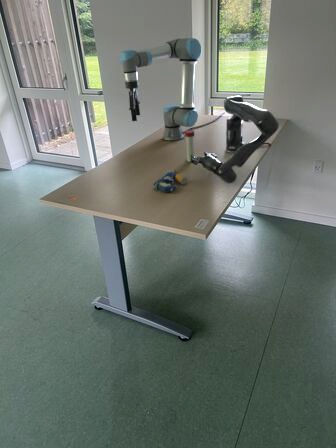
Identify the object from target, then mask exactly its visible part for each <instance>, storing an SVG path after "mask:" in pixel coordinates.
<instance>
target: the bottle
mask: <svg viewBox="0 0 336 448" xmlns="http://www.w3.org/2000/svg"><path fill="white" fill-rule="evenodd" d="M194 137H195V135H194V136H192V137H186V136H185V147H186V161H187V162H188V163H189V162H190V163H191V155H193V156H195V139H194Z"/></svg>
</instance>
